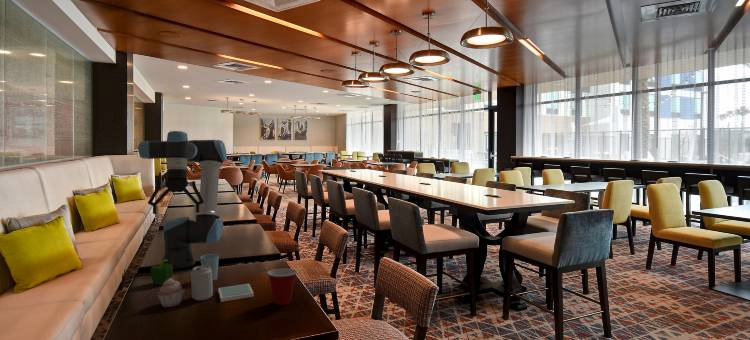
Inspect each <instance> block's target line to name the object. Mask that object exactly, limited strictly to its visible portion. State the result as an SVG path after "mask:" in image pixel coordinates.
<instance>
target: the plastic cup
mask: <svg viewBox="0 0 750 340" xmlns="http://www.w3.org/2000/svg"><path fill="white" fill-rule="evenodd" d="M297 273H298V270H296V269H293V268H277V269H276V268H274V269H271V270H268V271H267V275H268V277H269V282H270V286H271V292H272V296H273V300H274V304H275V305H276V306H287V305H290V304H291V303H292V297H293V291H294V284H295V279H296V276H297Z"/></svg>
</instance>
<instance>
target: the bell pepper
mask: <svg viewBox="0 0 750 340" xmlns="http://www.w3.org/2000/svg"><path fill="white" fill-rule="evenodd" d="M161 261H162V260H161ZM167 261H168V260H163V261H162V262H160V264H159V263H158V264H157V263H156V264H155V265H153V266H151V268H150V270H149V271H150V277H151V280H152V283H154V284H155V285H157V286H163V283H164V282H165V281H166V280H168V279H169V278H172V276H173V271H174V269H173V267H172V265H171V264H168V263H165V264H163V263H164V262H167Z"/></svg>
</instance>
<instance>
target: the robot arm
mask: <svg viewBox="0 0 750 340" xmlns="http://www.w3.org/2000/svg"><path fill="white" fill-rule="evenodd" d="M166 135H167V136H166V140H152V141H151V140H145V141H140V142H139V144H138V147H137V150H138V152H137V153H138V155H139V157H140V158H141V159H144V160H145V159H147V160H151V159H152V160H153V159H154V160H155V159H157V160H158V159H166V169H167V170H166V181H161V180H158V181H157V183H156V187H155V189H154V191H153V193H152V194H151V196H150V198H149V200H148V201H147V204H148V205H149V206H152V214H153V215H155V223H156V224H158V223H159V211H160V210H159V205H158V204H159V203H160V202H161V201H162V200H163V199H164V198H165V197H166V196H167V195H168V194H169V193H170V192H171V193H182V192H183V193H184V194H185V195H186V196H187V197H188V199H190V200H191V201H192V202H193V203H194V205H193V219H190V217H189V216H180V217H176V218H175V217H174V218H171V219H167V220H166V221H165V222H164V223H163V244H164V245H163V246H164V247H163V248H164V251H163V255H162V257H161V258H162V259H161V262H162V261H163V260H168V261H167V262H164V263H163V264H165V263H168V264H171V265H172V267H173V270H178V269H185V268H189V267H191V266H194V265H196V258H195V255H194V253H193V250H192V246H191V244H192V245H193V244H212V243H214V244H215V243H218V242H219V240H220V239H221V237H222V235H223V229H224V222H223V219H221V218H220V215H219V214H218V213H217V212H218V211H217V209H218V196H219V194H218V193H219V176H220V169H221V168H222V167H223V164H224V163H225V162H226V161H227V160H228V159H227V158H228V157H227V150H226V146H225V143H224V141H223V140H221V139H192V140H191V139H190V140H189V137H188V133H187V132H185V131H180V130H171V131H169V132H168V133H167V134H166ZM188 162H189V163H198V165H199V166H200V167H201V170H200V171H201V172H200V185H199V190H198V188H197V184H196V181H195V180H192V181H188V170H187V169H188ZM164 185H165V186H166V189H165V191H164V192H162V194H161V195H160V196H159V197H158V198H157V199H156V200H155V201H154V199H155V198H156V196H157V194H158V193H159V191H160V189H161V188H162V187H164ZM188 186H190V187H192V190H193V191H194V194H195V195H196V197H197V199H198V200H197V199H196V197H194V195H193V194H192V193H190V191H189V190H188V189H187V187H188ZM161 262H160V263H161Z"/></svg>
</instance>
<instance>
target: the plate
mask: <svg viewBox="0 0 750 340" xmlns="http://www.w3.org/2000/svg"><path fill="white" fill-rule="evenodd" d="M217 290H218V296H219V300H220V303H224V302H229V301H237V300H241V299H248V298H253V297H255V293H254V291H253V289H252V287H251V284H250V283H244V284H237V285H231V286H224V287H218V289H217Z"/></svg>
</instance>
